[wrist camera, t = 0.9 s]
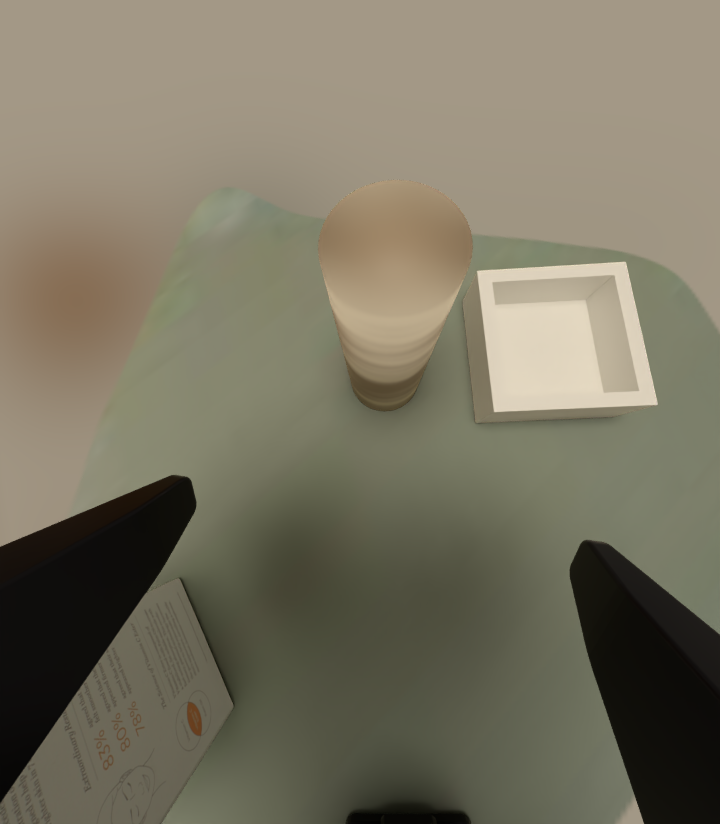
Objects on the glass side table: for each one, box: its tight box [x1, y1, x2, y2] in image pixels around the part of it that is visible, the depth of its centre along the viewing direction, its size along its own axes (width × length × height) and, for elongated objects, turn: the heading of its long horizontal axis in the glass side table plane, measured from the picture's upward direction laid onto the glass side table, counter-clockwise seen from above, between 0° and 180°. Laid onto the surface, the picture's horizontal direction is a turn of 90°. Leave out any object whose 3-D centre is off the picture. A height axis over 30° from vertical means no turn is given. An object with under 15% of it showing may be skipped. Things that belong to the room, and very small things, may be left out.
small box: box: [0, 578, 234, 824], centre depth 13 cm, size 8×6×13 cm
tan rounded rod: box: [318, 180, 473, 411], centre depth 16 cm, size 4×4×13 cm
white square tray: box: [462, 262, 658, 423], centre depth 21 cm, size 9×9×4 cm
